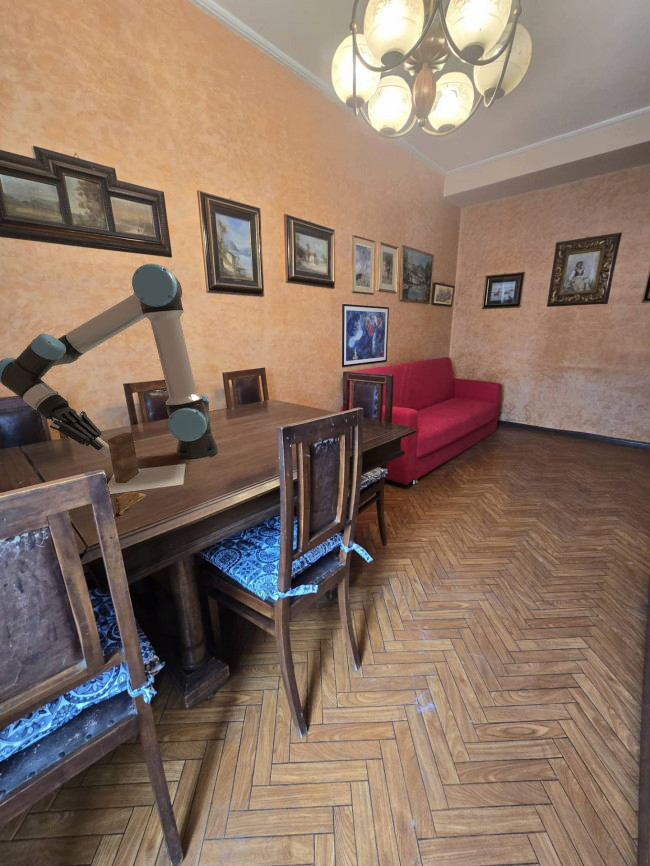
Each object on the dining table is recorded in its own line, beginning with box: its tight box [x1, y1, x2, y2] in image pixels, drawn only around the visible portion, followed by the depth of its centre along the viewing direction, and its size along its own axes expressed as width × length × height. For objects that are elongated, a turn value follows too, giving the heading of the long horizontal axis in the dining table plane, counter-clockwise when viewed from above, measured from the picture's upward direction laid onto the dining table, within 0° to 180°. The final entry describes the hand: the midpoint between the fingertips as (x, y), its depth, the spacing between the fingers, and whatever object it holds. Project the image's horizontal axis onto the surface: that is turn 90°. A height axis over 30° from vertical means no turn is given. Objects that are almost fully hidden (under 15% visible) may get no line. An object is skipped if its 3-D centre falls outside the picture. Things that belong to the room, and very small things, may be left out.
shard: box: [114, 491, 147, 516], centre depth 96 cm, size 11×8×2 cm
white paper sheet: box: [107, 463, 186, 495], centre depth 112 cm, size 22×18×1 cm
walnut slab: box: [107, 431, 139, 483], centre depth 109 cm, size 3×8×14 cm, turn 179°
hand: (112, 454), depth 109 cm, fingers closed
